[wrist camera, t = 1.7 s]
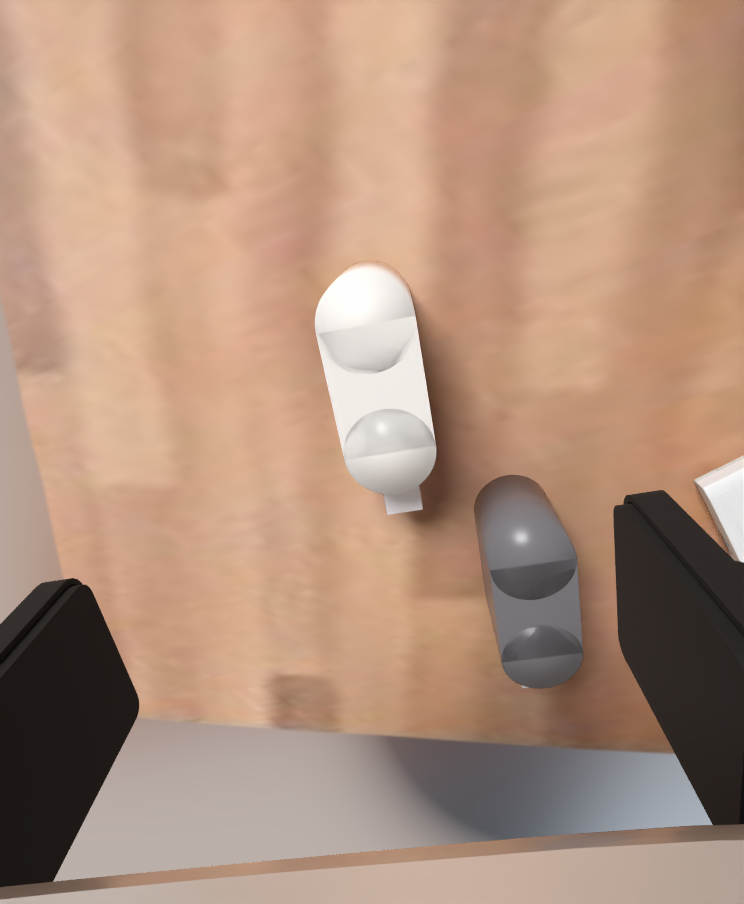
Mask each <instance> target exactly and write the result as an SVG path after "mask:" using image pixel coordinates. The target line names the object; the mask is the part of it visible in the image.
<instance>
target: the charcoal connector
mask: <svg viewBox="0 0 744 904" xmlns="http://www.w3.org/2000/svg"><path fill="white" fill-rule="evenodd" d="M474 514H475V521H476V528H477V535H478V543H479V550H480V557H481V564H482V572H483V579H484V586H485V593H486V598H487V603H488V607H489V611H490V615H491V619H492V624H493V628H494V632H495V636H496V640H497V645H498V649H499V653H500V657H501V661H502V665H503V668H504V671H505V672H506V674H507V675H508V676H509V677H510V678H511V679H512V680H513V681H515V682H516V683H518V684H520V685H521V686H522V688H549V687H553V686H556V685H559V684H561V683H563V682H565V681H567V680H568V679H570V678H571V677H572V676H573V675H574V674H575V673H576V672H577V670H578V669H579V667H580V665H581V663H582V659H583V645H582V630H581V615H580V599H579V584H578V568H577V556H576V552H575V549H574V547H573V545H572V543H571V541H570V539H569V537H568V535H567V534H566V532H565V530H564V528H563V526H562V524H561V522H560V521H559V519H558V517H557V515H556V513H555V511H554V509H553V507H552V506H551V504H550V502H549V500H548V498H547V496H546V494H545V492H544V491H543V489H542V488H541V487H540V486H539V484H537V483H536V482H535V481H533V480H532V479H530V478H527V477H524V476H519V475H507V476H503V477H499V478H497V479H495V480H493V481H491V482H490V483H488V484H487V485H486V486H485V487H484V488H483V489H482V490H481V491H480V493H479V494H478V496H477V498H476V501H475V506H474Z"/></svg>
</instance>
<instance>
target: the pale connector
mask: <svg viewBox="0 0 744 904" xmlns="http://www.w3.org/2000/svg"><path fill="white" fill-rule="evenodd" d="M315 330H316V336H317V340H318V344H319V349H320V353H321V358H322V362H323V367H324V371H325V376H326V380H327V384H328V389H329V393H330V398H331V402H332V407H333V411H334V416H335V420H336V424H337V429H338V433H339V438H340V442H341V447H342V451H343V455H344V460H345V463H346V466H347V468H348V471H349V472H350V474H351V475H352V477H353V478H354V479H355V480H356V481H357V482H358V483H359V484H361V485H362V486H363V487H365V488H367V489H369V490H371V491H374V492H377V493H381V494H383V496H384V501H385V506H386V510H387V515H390V514H396V513H403V512H410V511H416V510H423V506H422V498H421V492H420V487H419V485H420V484H421V483H422V482H423V481H424V480H425V479H426V478H427V477H428V475H429V474H430V473H431V471H432V469H433V467H434V464H435V460H436V442H435V436H434V430H433V423H432V417H431V411H430V405H429V398H428V392H427V386H426V379H425V373H424V367H423V360H422V354H421V348H420V341H419V335H418V329H417V323H416V316H415V311H414V306H413V302H412V297H411V292H410V289H409V286H408V284H407V282H406V281H405V279H404V278H403V276H402V275H401V274H400V273H399V272H398V271H397V270H395V269H394V268H393V267H391V266H389V265H387V264H385V263H382V262H377V261H363V262H359V263H356V264H354V265H352V266H350V267H348V268H347V269H346V270H344V271H343V272H342V273H341V274H340V275H339V276H338V277H337V279H336V280H335V281H334V282H333V283H332V285H331V286H330V287H329V288H328V289H327V290H326V292H325V293H324V295H323V296H322V298H321V300H320V302H319V304H318V307H317V311H316V316H315Z"/></svg>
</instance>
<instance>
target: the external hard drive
mask: <svg viewBox="0 0 744 904" xmlns="http://www.w3.org/2000/svg"><path fill="white" fill-rule="evenodd" d="M694 481H695V483H696V485H697V487H698V489H699V491H700V493H701V495H702V497H703V499H704V502H705V504H706V506H707V508H708V510H709V512H710V514H711V516H712V518H713V520H714V522H715V524H716V526H717V528H718V530H719V532H720V533H721V534H722V536H723V539H724V541H725V543H726V545H727V547H728V549H729V551H730V554H731V557H732V559H733V560H734V561H740V562H743V563H744V456H742V457H740V458H738V459H736V460H734V461H732V462H730V463H728V464H726V465H724V466H722V467H720V468H718V469H715V470H713V471H711V472H709V473H707V474H705V475H703V476H701V477H699V478H697V479H695V480H694Z"/></svg>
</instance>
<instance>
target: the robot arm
mask: <svg viewBox="0 0 744 904" xmlns="http://www.w3.org/2000/svg"><path fill="white" fill-rule="evenodd" d="M614 540H615V565H616V590H617V615H618V636H619V642H620V646H621V650H622V653H623V655H624V658H625V660H626V662H627V663H628V665H629V667H630V669H631V671H632V673H633V675H634V677H635V679H636V680H637V682H638V684H639V686H640V688H641V690H642V692H643V694H644V696H645V697H646V699H647V701H648V703H649V705H650V707H651V709H652V711H653V713H654V715H655V716H656V718H657V720H658V722H659V724H660V726H661V728H662V730H663V732H664V733H665V735H666V737H667V739H668V741H669V743H670V745H671V747H672V749H673V750H674V752H675V754H676V756H677V758H678V760H679V762H680V763H681V766H682V767H683V769H684V771H685V773H686V775H687V777H688V779H689V781H690V782H691V784H692V786H693V788H694V790H695V792H696V794H697V796H698V797H699V799H700V801H701V803H702V805H703V807H704V809H705V811H706V813H707V815H708V817H709V818H710V820H711V822H712V824H713V825H702V826H680V827H666V828H653V829H638V830H624V831H611V832H595V833H583V834H582V833H581V834H567V835H554V836H541V837H530V838H519V839H508V840H496V841H485V842H474V843H462V844H451V845H440V846H428V847H417V848H405V849H395V850H383V851H371V852H360V853H349V854H339V855H327V856H317V857H306V858H296V859H284V860H274V861H263V862H252V863H242V864H232V865H221V866H210V867H200V868H190V869H179V870H170V871H169V870H168V871H158V872H148V873H137V874H127V875H117V876H106V877H97V878H87V879H77V880H67V881H57V882H53V880H54V878H55V876H56V875H57V873H58V870H59V869H60V867H61V865H62V863H63V861H64V859H65V857H66V855H67V853H68V851H69V849H70V847H71V845H72V843H73V841H74V839H75V837H76V835H77V833H78V831H79V829H80V827H81V826H82V823H83V822H84V820H85V818H86V816H87V814H88V812H89V810H90V808H91V806H92V804H93V802H94V800H95V798H96V796H97V794H98V792H99V790H100V788H101V786H102V785H103V783H104V781H105V779H106V777H107V775H108V773H109V771H110V769H111V767H112V765H113V763H114V761H115V759H116V757H117V755H118V753H119V751H120V749H121V747H122V745H123V743H124V742H125V740H126V738H127V735H128V734H129V732H130V730H131V728H132V726H133V724H134V722H135V720H136V718H137V715H138V711H139V699H138V695H137V693H136V691H135V688H134V686H133V684H132V681H131V679H130V677H129V675H128V672H127V670H126V668H125V665H124V663H123V661H122V659H121V656H120V654H119V652H118V649H117V647H116V645H115V643H114V640H113V638H112V636H111V633H110V631H109V629H108V627H107V624H106V622H105V620H104V617H103V615H102V613H101V611H100V608H99V606H98V604H97V601H96V599H95V597H94V595H93V592H92V591H91V589H90V588H89V587H88V586H87V585H82V583H81V582H80V581H79V580H77V579H74V578H71V579H65V580H58V581H51V582H45V583H41V584H40V585H38V586H37V587H36V588H35V589H34V590H33V591H32V592H31V593H30V594H29V595H28V596H27V597H26V598H25V600H23V601H22V602H21V604H19V605H18V607H17V608H16V609H15V610H14V611H13V612H12V613H11V614H10V615H9V616H8V617H7V618H6V619H5V620H4V621H3V622H2V623H1V624H0V904H744V563H743V562H740V561H734V560H733V559H732V558H731V557H730V556H729V555H728V554H727V553H726V552H725V551H724V550H723V549H722V548H721V547H720V546H719V545H718V544H717V543H716V542H715V541H714V540H713V539H712V538H711V537H710V536H709V535H708V534H707V533H706V532H705V531H704V530H703V529H702V528H701V527H700V526H699V525H698V524H697V523H696V522H695V521H694V520H693V519H692V518H691V517H690V516H689V515H688V514H687V513H686V512H685V511H684V510H683V509H682V508H681V507H680V506H679V505H678V504H677V503H676V502H675V501H674V500H673V499H672V498H671V497H670V496H669V495H668V494H667V493H666V492H665V491H663V490H659V491H652V492H645V493H639V494H632V495H627V496H626V497H625V499H624V505H617V506H615V507H614Z"/></svg>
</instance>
